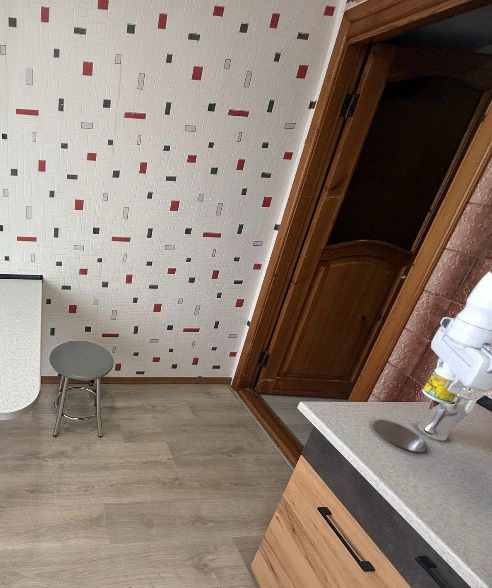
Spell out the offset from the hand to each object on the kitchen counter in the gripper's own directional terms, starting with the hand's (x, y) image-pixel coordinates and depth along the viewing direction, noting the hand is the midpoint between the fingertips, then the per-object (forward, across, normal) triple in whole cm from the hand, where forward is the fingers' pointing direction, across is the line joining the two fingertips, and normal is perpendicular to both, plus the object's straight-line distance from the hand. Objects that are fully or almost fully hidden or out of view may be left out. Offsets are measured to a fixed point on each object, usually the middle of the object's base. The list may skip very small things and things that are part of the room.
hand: (444, 383), depth 81 cm
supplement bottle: (+4, 0, 0) cm, 4 cm away
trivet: (+21, +4, 0) cm, 21 cm away
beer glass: (+21, +11, -9) cm, 26 cm away
